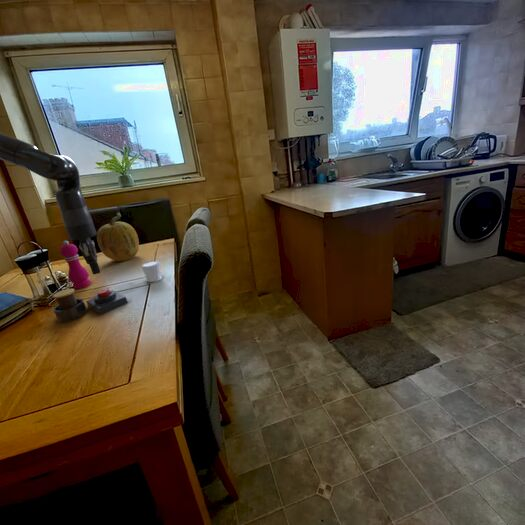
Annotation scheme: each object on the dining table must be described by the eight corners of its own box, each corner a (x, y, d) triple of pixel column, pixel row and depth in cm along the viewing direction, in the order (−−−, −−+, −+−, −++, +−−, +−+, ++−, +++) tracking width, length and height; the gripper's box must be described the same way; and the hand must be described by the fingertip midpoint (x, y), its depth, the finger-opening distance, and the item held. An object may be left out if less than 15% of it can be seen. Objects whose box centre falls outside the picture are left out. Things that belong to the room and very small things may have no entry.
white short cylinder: (155, 275, 120) (151, 260, 117) (166, 277, 116) (162, 261, 114) (142, 281, 114) (137, 266, 112) (153, 283, 111) (148, 267, 108)
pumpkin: (140, 260, 142) (126, 212, 134) (100, 268, 138) (83, 219, 130) (145, 250, 159) (132, 207, 151) (109, 257, 156) (94, 213, 147)
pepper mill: (90, 280, 123) (74, 237, 116) (93, 284, 118) (76, 239, 111) (71, 286, 119) (53, 241, 112) (73, 291, 113) (55, 244, 107)
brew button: (101, 298, 94) (99, 294, 93) (97, 296, 96) (95, 292, 95) (112, 294, 96) (110, 289, 96) (107, 292, 99) (106, 287, 98)
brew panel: (101, 314, 91) (97, 304, 89) (88, 306, 98) (84, 296, 96) (127, 302, 97) (124, 292, 96) (114, 296, 104) (110, 286, 103)
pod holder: (62, 325, 87) (57, 314, 86) (54, 318, 93) (49, 307, 91) (90, 312, 93) (86, 302, 92) (81, 306, 98) (77, 296, 97)
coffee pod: (65, 320, 89) (56, 298, 86) (59, 315, 93) (50, 294, 90) (84, 312, 93) (76, 290, 90) (78, 307, 97) (70, 287, 94)
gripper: (68, 222, 91) (86, 270, 97) (61, 228, 80) (82, 282, 86) (93, 217, 94) (109, 265, 100) (90, 223, 83) (108, 276, 89)
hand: (97, 273), depth 93 cm, fingers closed
